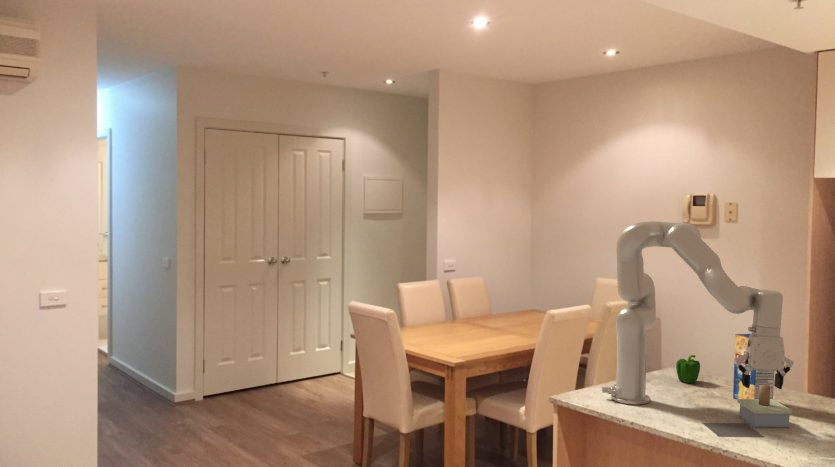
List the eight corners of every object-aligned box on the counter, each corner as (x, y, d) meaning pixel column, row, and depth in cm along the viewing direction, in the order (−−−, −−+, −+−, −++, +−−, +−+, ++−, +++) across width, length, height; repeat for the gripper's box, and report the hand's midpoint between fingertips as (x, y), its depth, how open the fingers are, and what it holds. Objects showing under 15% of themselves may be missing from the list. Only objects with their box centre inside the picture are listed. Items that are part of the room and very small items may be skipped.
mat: (718, 438, 198) (718, 436, 198) (701, 424, 210) (701, 422, 210) (764, 439, 198) (764, 437, 198) (745, 425, 210) (745, 423, 210)
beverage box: (754, 407, 227) (756, 340, 226) (732, 398, 238) (735, 334, 237) (772, 406, 228) (775, 340, 227) (750, 397, 239) (753, 333, 238)
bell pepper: (678, 384, 255) (679, 357, 254) (673, 378, 263) (674, 352, 262) (702, 385, 253) (703, 358, 253) (697, 379, 262) (698, 353, 261)
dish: (754, 429, 206) (755, 412, 206) (739, 418, 216) (740, 402, 216) (788, 429, 206) (789, 413, 206) (771, 418, 216) (772, 402, 216)
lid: (754, 413, 205) (755, 391, 205) (737, 402, 216) (738, 381, 216) (791, 413, 205) (792, 391, 205) (773, 402, 216) (773, 381, 216)
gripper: (743, 333, 206) (738, 390, 207) (801, 335, 206) (797, 392, 207) (731, 327, 213) (727, 382, 215) (788, 329, 213) (784, 384, 215)
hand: (761, 387), depth 211 cm, fingers open, 9 cm apart
